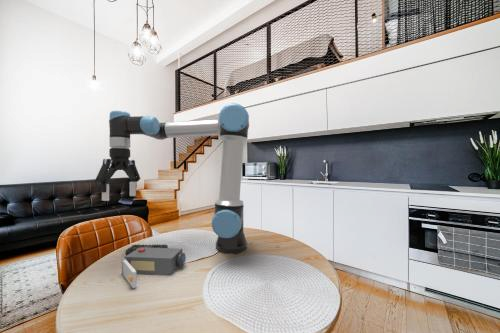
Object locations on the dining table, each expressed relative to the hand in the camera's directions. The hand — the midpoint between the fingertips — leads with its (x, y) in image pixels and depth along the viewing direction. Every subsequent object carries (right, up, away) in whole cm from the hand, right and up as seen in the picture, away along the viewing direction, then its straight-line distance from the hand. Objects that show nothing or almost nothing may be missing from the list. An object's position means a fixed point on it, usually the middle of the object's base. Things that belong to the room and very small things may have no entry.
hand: (120, 198), depth 86 cm
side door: (+14, -25, -17) cm, 34 cm away
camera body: (+20, -26, -8) cm, 33 cm away
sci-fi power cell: (+10, -26, +2) cm, 28 cm away
